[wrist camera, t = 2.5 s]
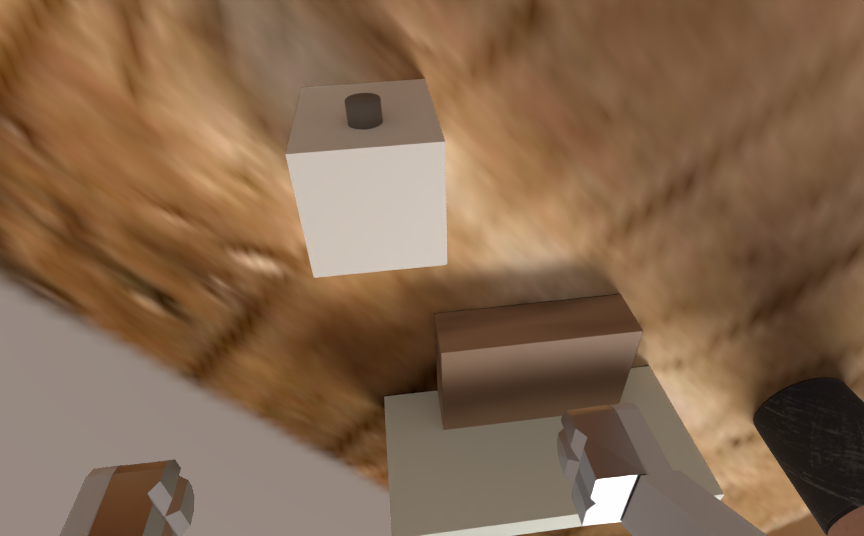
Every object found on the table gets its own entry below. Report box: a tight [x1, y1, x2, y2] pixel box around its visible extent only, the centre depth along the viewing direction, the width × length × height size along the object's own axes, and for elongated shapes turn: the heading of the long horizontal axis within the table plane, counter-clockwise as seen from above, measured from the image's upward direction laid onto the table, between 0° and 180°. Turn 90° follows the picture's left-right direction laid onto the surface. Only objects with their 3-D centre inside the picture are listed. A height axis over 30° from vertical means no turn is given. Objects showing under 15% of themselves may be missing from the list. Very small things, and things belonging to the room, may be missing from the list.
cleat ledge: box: [435, 294, 643, 430], centre depth 30 cm, size 7×11×3 cm, turn 92°
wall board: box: [384, 366, 724, 536], centre depth 31 cm, size 2×18×9 cm, turn 92°
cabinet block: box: [285, 79, 447, 278], centre depth 20 cm, size 6×5×6 cm
